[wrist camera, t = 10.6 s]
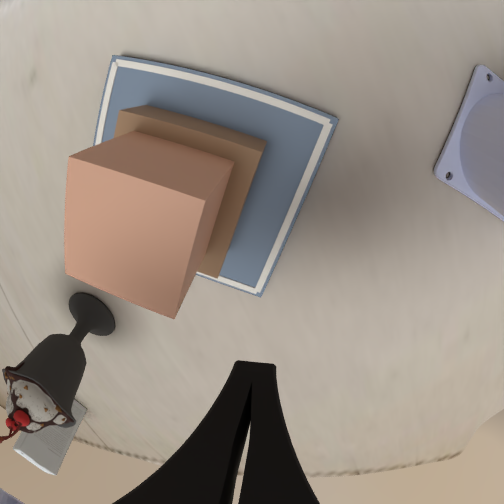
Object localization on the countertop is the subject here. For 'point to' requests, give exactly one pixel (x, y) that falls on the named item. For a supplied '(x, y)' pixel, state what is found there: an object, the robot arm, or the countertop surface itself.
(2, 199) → the countertop surface
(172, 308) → the terracotta block
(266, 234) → the blueprint board
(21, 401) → the sundae
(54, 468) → the skincare box
